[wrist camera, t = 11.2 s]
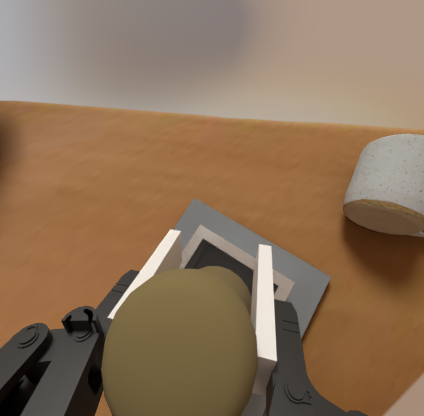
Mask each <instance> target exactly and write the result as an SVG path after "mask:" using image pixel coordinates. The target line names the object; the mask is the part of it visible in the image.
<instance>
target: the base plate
mask: <svg viewBox="0 0 424 416" xmlns="http://www.w3.org/2000/svg"><path fill="white" fill-rule="evenodd" d="M200 225H202V226H204V227H205V228H207V229H209V230H210V231H212V232H213V233H215V234H217V235H218V236H220V237H222V238H223V239H225V240H226V241H228V242H230V243H231V244H233V245H235V246H236V247H238V248H240V249H241V250H243V251H244V252H246V253H248V254H249V255H251V256H253V257H254V258H256V257H257V252H258V247H259V244H262V245H268V246H271V250H272V269H274V270H275V271H277V272H279V273H280V274H282V275H284V276H285V277H287V278H288V279H290V280H292V281H293V282H295V283H294V285H293V287H292V289H291V291H290V293H289V295H288V297H287V299H286V302H291V303H292V305H293V306H294V308H295V310H296V312H297V315H298V322H299V328H300V335H301V338H302V336H303V334H304V332H305V330H306V328H307V326H308V324H309V322H310V320H311V318H312V316H313V313H314V311H315V309H316V307H317V305H318V303H319V301H320V299H321V297H322V295H323V293H324V291H325V288H326V286H327V284H328V282H329V280H330V278H331V277H330V276H328V275H327V274H325V273H323V272H321V271H320V270H318V269H316V268H314V267H313V266H311V265H309V264H308V263H306V262H304V261H302V260H301V259H299V258H297V257H295V256H294V255H292V254H290V253H288V252H287V251H285V250H283V249H282V248H280V247H278V246H276V245H275V244H273V243H271V242H269V241H268V240H266V239H264V238H263V237H261V236H259V235H257V234H256V233H254V232H252V231H250V230H249V229H247V228H245V227H243V226H242V225H240V224H238V223H237V222H235V221H233V220H231V219H230V218H228V217H226V216H224V215H223V214H221V213H219V212H218V211H216V210H214V209H212V208H211V207H209V206H207V205H205V204H204V203H202V202H200V201H198V200H197V199H195V198H194V199H193V201H192V202H191V204H190V205H189V207H188V208H187V210H186V211H185V213H184V214H183V216H182V217H181V219H180V220H179V222H178V223H177V225H176V226H175V228H174V229H173V230H177V231H181V245H182V252H183V250H184V249H185V247H186V245H187V244H188V242H189V241H190V239H191V238H192V236H193V235H194V233H195V232H196V230H197V229H198V227H199V226H200ZM207 266H220V267H223V268H226V269H229V270H231V271H232V272H234V273H235V274H237V275H238V276H239V277H240V278H241V279H242V280H243V282H244V283H245V285H246V286H247V287H248V290H249V293H250V296H251V298H252V286H253V274H254V273H253V272H252V271H250V270H249V269H247V268H246V267H244V266H242V265H241V264H239V263H238V262H236V261H235V260H233V259H231V258H230V257H228V256H227V255H225V254H223V253H222V252H220V251H219V250H217V249H216V248H214V247H212V246H211V245H210V246H209V247H208V249H207V250H206V252H205V254H204V255H203V257H202V258H201V260H200V262H199V263H198V265H197V266H196V268H195V269H201V268H204V267H207ZM265 408H266V393H265V396H262V395H258V394H255V393H252V395H251V397H250V399H249V402H248V404H247V405H246V407H245V409H244V411H243V412H242V414H241V416H263V413H264V410H265Z"/></svg>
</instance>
